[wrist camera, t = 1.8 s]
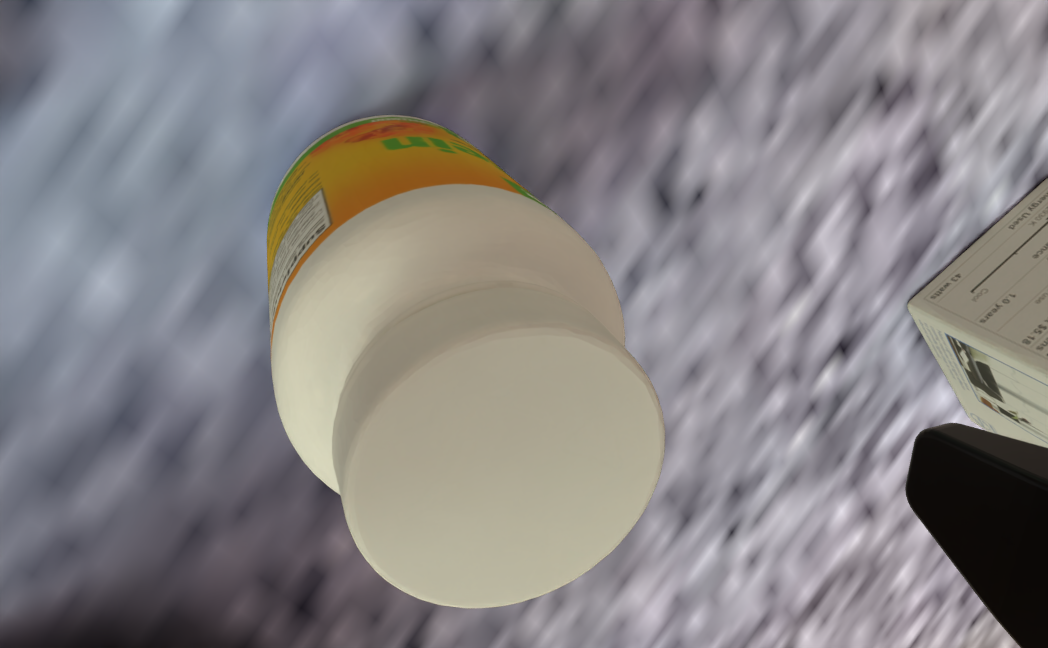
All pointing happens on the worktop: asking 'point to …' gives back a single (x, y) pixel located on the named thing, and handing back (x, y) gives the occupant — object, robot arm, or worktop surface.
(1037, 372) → the light bulb box
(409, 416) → the supplement bottle
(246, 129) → the worktop surface
